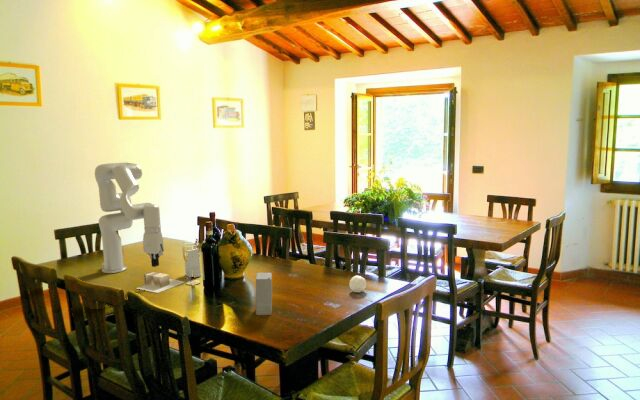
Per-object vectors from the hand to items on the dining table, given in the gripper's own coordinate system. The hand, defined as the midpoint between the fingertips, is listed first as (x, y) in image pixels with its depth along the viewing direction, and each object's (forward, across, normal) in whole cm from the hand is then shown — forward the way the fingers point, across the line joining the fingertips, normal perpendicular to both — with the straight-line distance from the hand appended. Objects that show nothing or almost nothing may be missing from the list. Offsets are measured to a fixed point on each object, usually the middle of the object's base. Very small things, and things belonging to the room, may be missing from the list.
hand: (155, 266), depth 234 cm
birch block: (+7, -6, 0) cm, 9 cm away
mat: (+10, +3, 0) cm, 10 cm away
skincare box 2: (+10, +70, -6) cm, 71 cm away
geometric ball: (+10, +95, +33) cm, 101 cm away
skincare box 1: (+10, +6, +19) cm, 22 cm away
